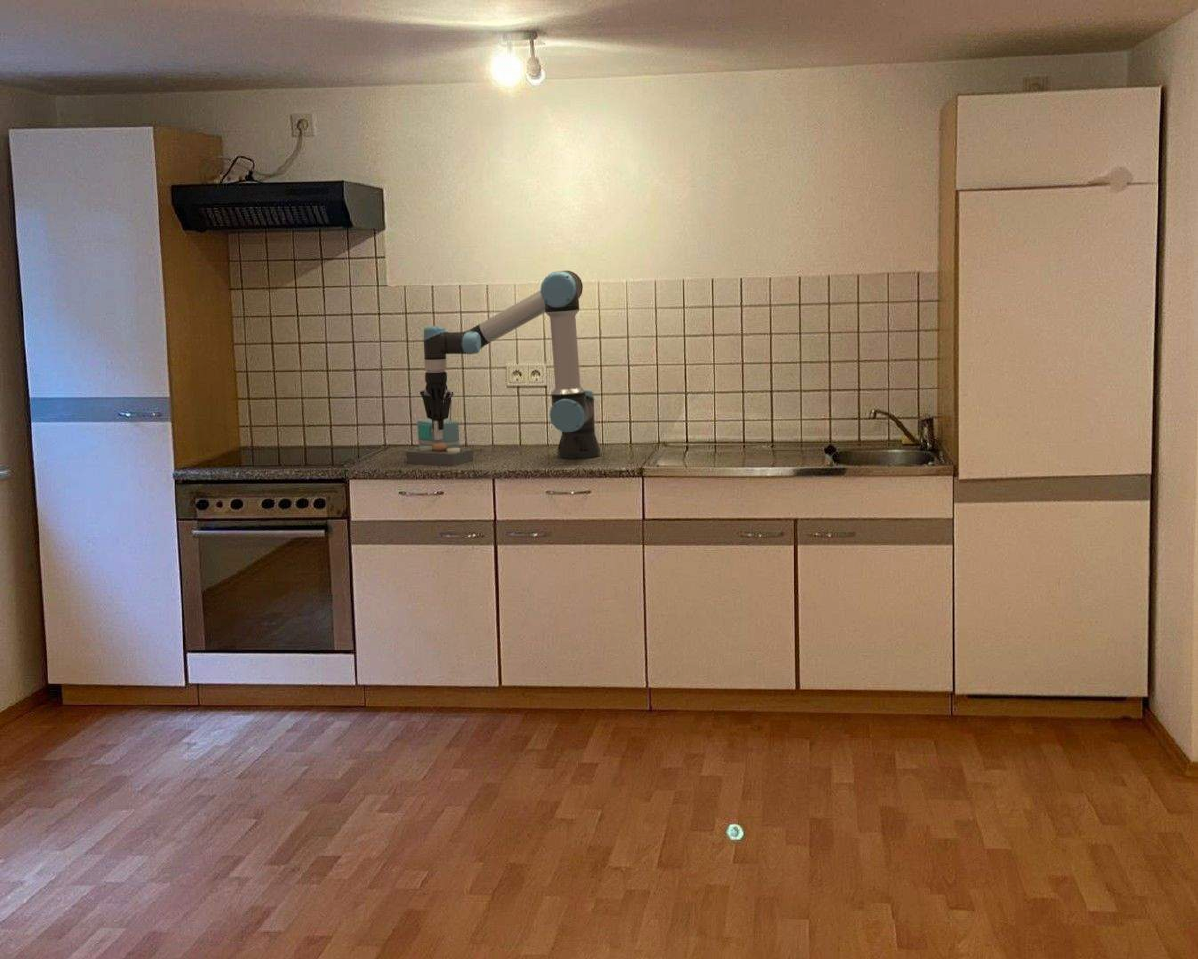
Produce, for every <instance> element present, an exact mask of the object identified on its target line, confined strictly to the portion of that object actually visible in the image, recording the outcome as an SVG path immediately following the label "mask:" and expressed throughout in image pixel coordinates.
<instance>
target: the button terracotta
mask: <svg viewBox="0 0 1198 959" xmlns="http://www.w3.org/2000/svg"><path fill="white" fill-rule="evenodd" d="M433 451H446V443H433Z"/></svg>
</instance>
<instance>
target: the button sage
mask: <svg viewBox="0 0 1198 959" xmlns="http://www.w3.org/2000/svg"><path fill="white" fill-rule="evenodd" d="M418 449H419V450H420V451H429V450H432V446H421V447H419V446H418Z"/></svg>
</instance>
